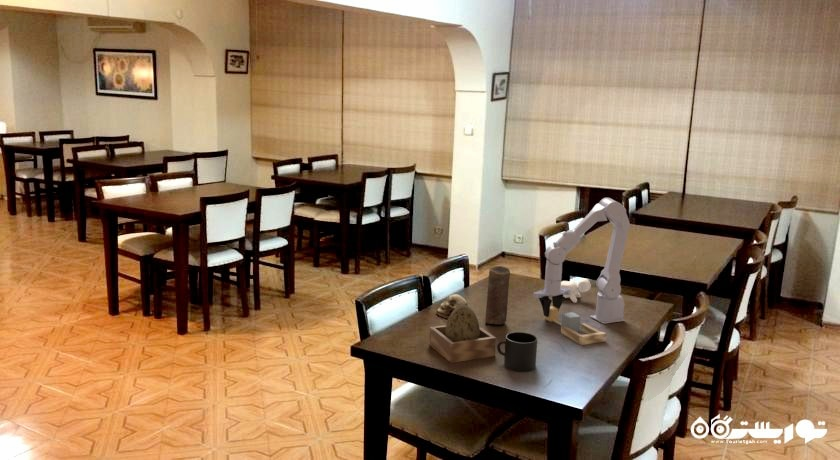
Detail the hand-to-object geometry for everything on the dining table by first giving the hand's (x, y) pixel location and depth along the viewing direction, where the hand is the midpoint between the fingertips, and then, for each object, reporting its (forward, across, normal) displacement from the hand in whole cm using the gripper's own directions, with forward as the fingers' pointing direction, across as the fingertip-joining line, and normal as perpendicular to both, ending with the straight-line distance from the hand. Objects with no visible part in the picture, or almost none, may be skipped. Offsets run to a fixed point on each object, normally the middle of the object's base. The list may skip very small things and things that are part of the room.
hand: (550, 315), depth 253 cm
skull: (+2, +31, -17) cm, 35 cm away
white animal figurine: (+2, -22, -18) cm, 28 cm away
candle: (+2, +21, -3) cm, 21 cm away
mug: (+2, +34, +31) cm, 46 cm away
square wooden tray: (+1, +44, +15) cm, 47 cm away
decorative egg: (+2, +44, +15) cm, 47 cm away
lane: (+1, 0, +18) cm, 18 cm away
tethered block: (+1, 0, +7) cm, 7 cm away
